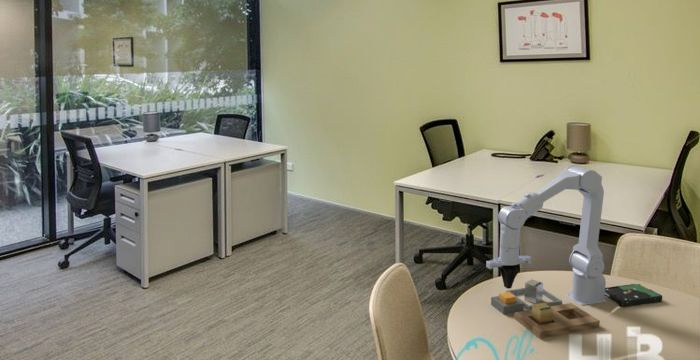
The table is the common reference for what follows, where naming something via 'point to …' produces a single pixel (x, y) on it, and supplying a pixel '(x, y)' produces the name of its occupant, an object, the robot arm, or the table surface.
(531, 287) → the block
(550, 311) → the block
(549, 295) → the tray
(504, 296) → the button
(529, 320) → the wooden pocket board
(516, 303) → the button housing
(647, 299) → the disk drive
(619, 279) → the table surface
